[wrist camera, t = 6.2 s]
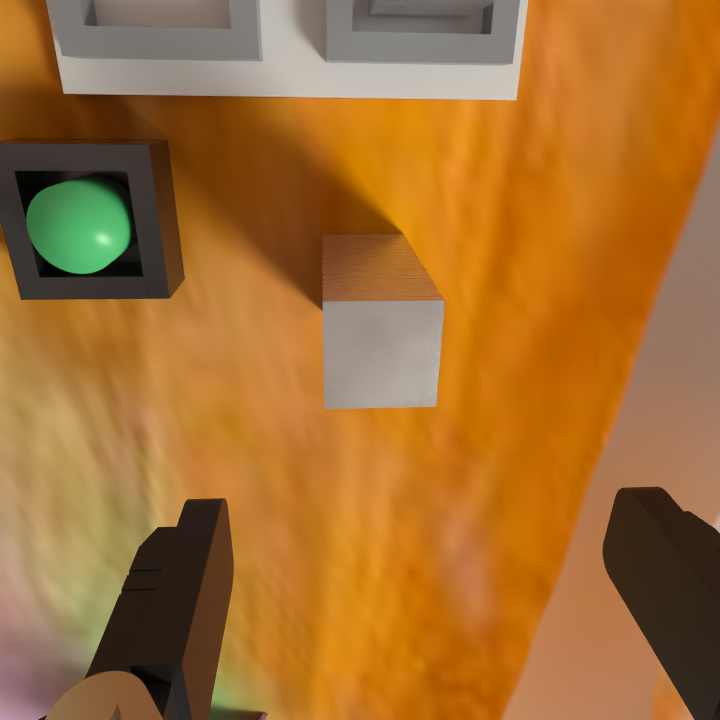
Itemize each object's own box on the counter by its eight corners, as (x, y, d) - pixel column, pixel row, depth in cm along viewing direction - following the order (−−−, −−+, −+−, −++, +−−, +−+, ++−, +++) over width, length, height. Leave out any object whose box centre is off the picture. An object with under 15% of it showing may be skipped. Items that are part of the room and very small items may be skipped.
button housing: (50, 279, 27) (21, 299, 24) (18, 138, 24) (-20, 143, 22) (184, 278, 28) (169, 298, 25) (167, 139, 25) (148, 144, 22)
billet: (323, 311, 29) (324, 408, 20) (321, 233, 27) (322, 301, 18) (399, 310, 29) (436, 406, 20) (403, 233, 27) (444, 300, 18)
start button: (67, 255, 26) (37, 274, 23) (50, 174, 24) (16, 184, 22) (146, 255, 26) (126, 273, 23) (134, 175, 25) (111, 184, 22)
